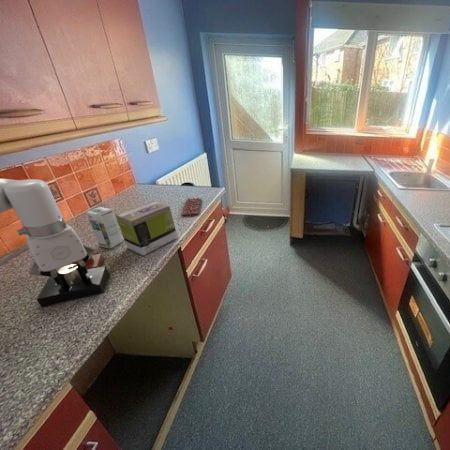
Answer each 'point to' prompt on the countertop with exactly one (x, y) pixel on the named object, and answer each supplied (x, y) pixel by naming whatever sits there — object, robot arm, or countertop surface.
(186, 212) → the chocolate bar
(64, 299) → the panel
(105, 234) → the syrup box
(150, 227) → the tea box
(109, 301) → the countertop surface
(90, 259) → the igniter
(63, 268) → the hob knob
